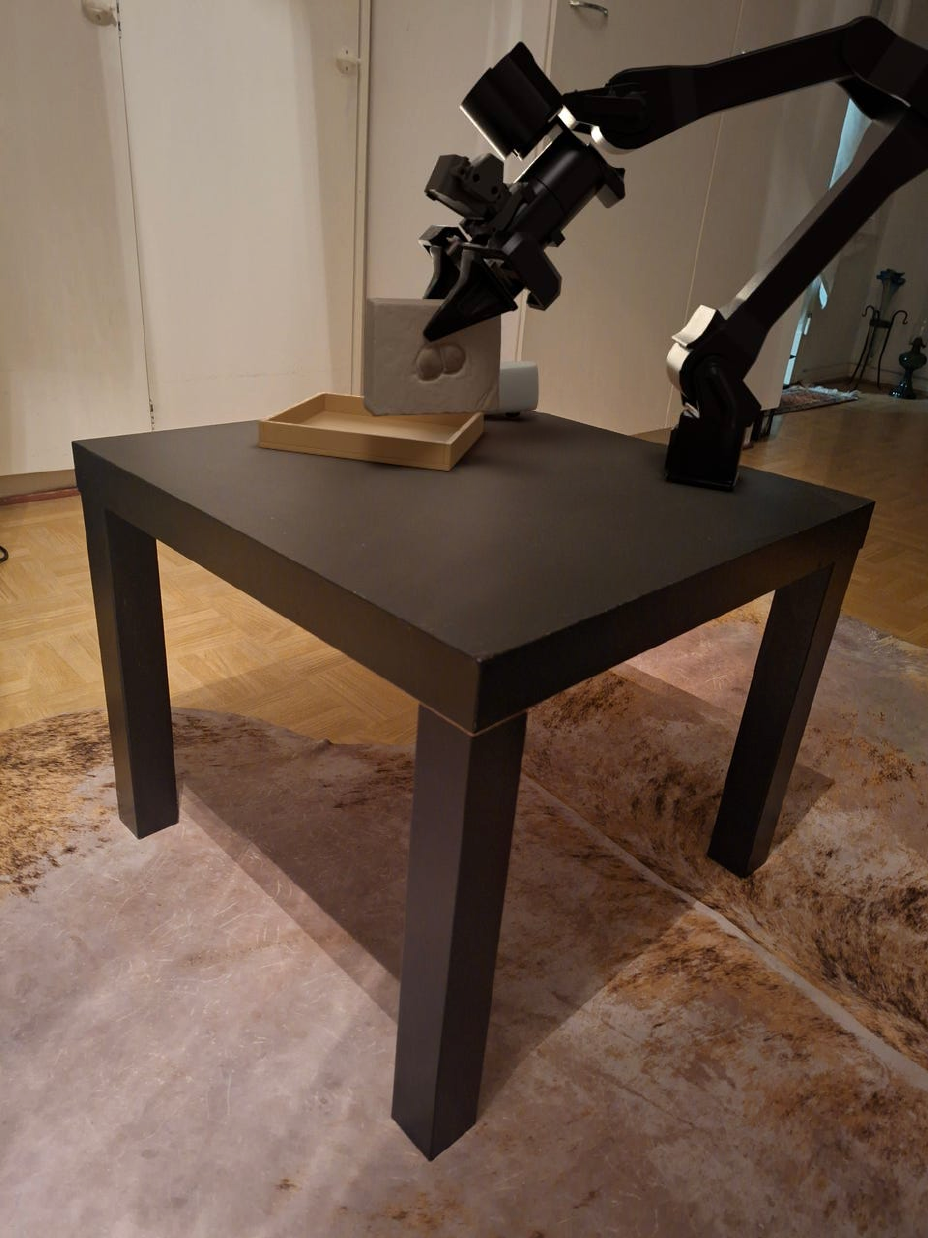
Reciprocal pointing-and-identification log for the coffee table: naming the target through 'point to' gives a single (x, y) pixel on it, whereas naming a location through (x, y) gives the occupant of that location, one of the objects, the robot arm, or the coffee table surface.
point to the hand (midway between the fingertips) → (418, 334)
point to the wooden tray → (370, 433)
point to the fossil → (427, 362)
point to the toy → (517, 388)
